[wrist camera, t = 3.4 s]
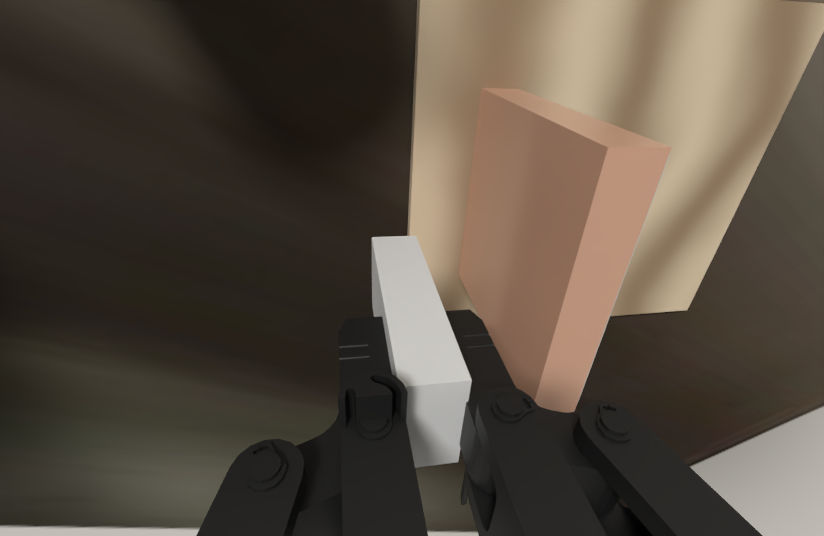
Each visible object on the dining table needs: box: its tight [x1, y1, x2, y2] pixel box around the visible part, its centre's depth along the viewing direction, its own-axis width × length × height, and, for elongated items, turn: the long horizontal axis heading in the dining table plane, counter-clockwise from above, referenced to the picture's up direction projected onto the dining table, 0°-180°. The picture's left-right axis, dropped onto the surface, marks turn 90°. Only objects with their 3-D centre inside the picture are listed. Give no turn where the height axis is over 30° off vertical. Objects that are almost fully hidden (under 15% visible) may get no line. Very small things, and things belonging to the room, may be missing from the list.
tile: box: [459, 88, 672, 413], centre depth 17 cm, size 2×10×10 cm, turn 177°
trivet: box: [407, 0, 824, 318], centre depth 23 cm, size 20×18×1 cm
